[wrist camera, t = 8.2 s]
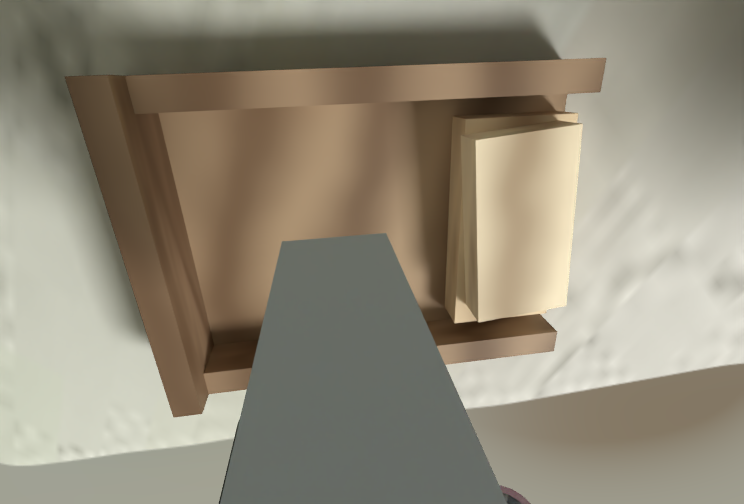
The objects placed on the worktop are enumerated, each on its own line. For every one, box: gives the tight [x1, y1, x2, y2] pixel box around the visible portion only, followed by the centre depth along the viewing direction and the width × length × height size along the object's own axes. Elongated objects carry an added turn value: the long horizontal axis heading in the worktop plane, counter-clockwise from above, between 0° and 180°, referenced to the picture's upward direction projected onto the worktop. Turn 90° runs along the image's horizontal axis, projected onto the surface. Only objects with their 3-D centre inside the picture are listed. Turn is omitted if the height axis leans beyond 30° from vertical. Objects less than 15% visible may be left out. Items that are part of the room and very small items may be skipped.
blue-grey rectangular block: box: [220, 233, 507, 504], centre depth 8 cm, size 2×9×7 cm, turn 2°
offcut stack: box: [445, 111, 583, 323], centre depth 22 cm, size 6×12×4 cm, turn 2°
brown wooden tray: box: [65, 58, 606, 417], centre depth 22 cm, size 23×17×5 cm
